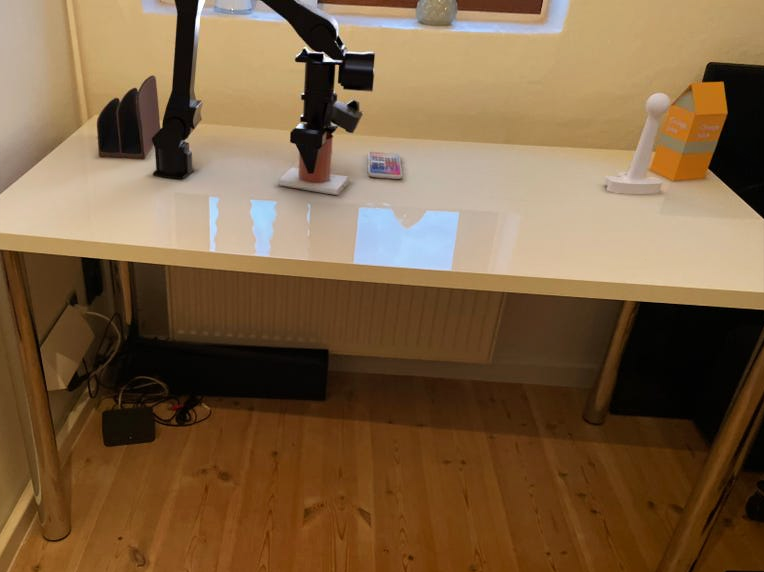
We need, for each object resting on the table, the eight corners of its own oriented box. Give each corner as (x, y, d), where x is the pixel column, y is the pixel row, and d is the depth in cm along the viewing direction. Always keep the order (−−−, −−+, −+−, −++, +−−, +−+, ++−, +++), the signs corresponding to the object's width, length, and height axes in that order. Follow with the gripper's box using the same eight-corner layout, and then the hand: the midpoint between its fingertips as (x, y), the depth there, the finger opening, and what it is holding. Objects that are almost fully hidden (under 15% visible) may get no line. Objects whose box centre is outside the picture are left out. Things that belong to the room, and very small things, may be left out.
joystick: (610, 193, 154) (639, 95, 143) (597, 181, 160) (623, 85, 149) (661, 194, 155) (693, 97, 144) (646, 182, 161) (675, 87, 150)
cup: (294, 180, 147) (296, 137, 143) (302, 170, 153) (304, 128, 148) (326, 184, 146) (329, 141, 141) (333, 174, 151) (336, 132, 147)
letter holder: (161, 133, 175) (157, 70, 167) (144, 159, 158) (140, 92, 150) (119, 131, 175) (113, 68, 167) (98, 157, 158) (91, 89, 150)
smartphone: (400, 153, 167) (403, 176, 154) (399, 157, 167) (402, 180, 155) (367, 151, 167) (367, 173, 154) (367, 155, 167) (367, 177, 155)
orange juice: (649, 169, 169) (677, 78, 158) (680, 167, 171) (710, 77, 160) (673, 181, 162) (704, 87, 151) (705, 178, 165) (738, 86, 154)
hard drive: (292, 174, 155) (348, 183, 152) (278, 186, 148) (337, 196, 145) (292, 166, 154) (349, 175, 151) (278, 178, 148) (337, 188, 144)
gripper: (351, 104, 131) (344, 188, 139) (369, 81, 146) (362, 158, 154) (290, 97, 133) (287, 181, 141) (314, 75, 148) (310, 152, 156)
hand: (314, 167), depth 148 cm, fingers open, 7 cm apart
